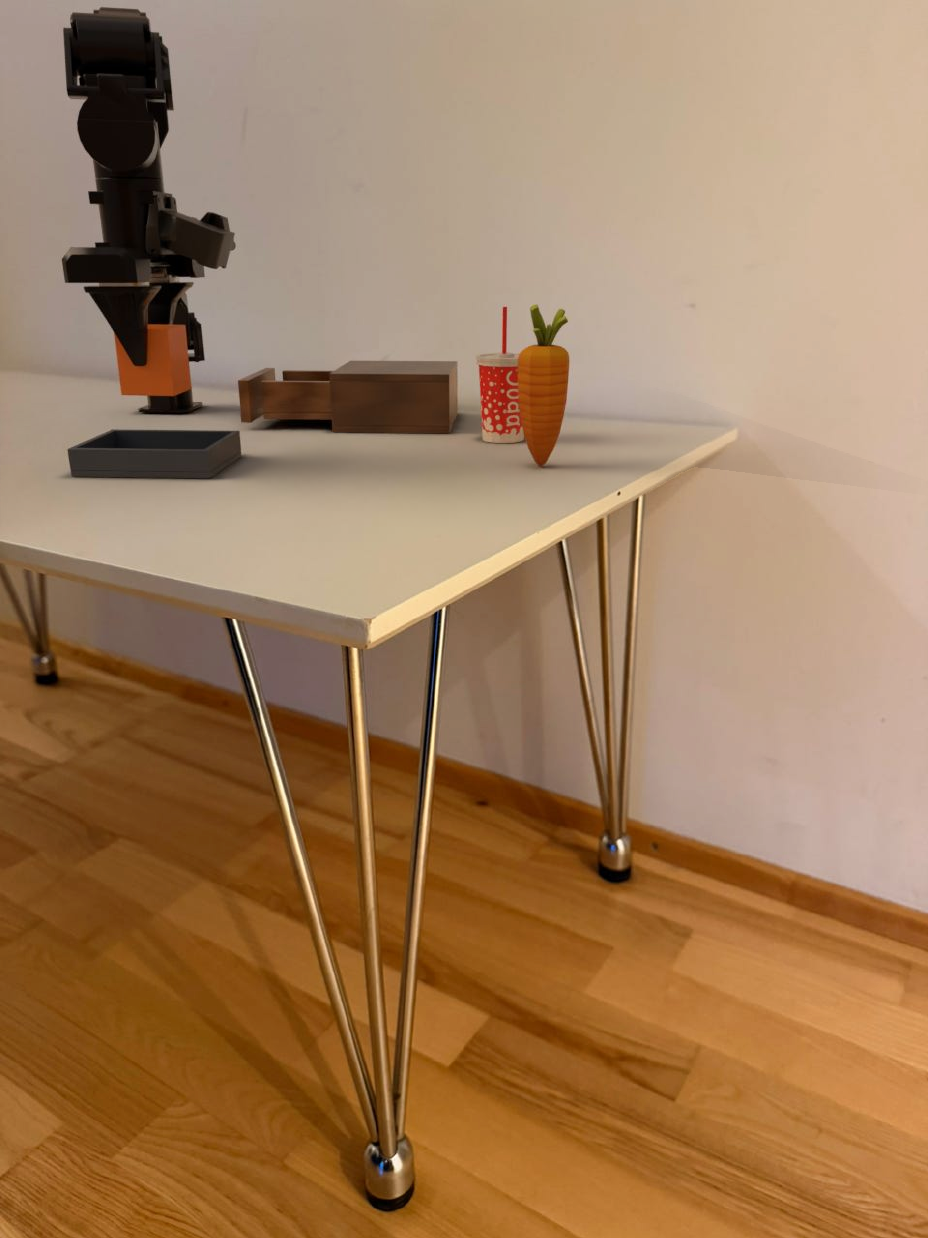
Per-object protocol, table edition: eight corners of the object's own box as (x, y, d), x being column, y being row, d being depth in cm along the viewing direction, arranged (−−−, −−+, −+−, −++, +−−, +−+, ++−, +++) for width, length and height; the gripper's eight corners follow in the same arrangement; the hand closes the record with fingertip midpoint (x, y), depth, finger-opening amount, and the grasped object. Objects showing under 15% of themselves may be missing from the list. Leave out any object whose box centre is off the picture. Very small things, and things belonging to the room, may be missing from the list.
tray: (115, 454, 98) (112, 429, 97) (241, 456, 97) (239, 430, 96) (71, 476, 88) (66, 448, 87) (210, 478, 87) (208, 450, 86)
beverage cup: (482, 445, 102) (483, 308, 97) (470, 435, 108) (470, 305, 103) (537, 443, 103) (540, 307, 98) (522, 433, 109) (525, 304, 104)
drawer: (231, 422, 110) (227, 380, 109) (259, 405, 122) (256, 367, 120) (347, 423, 110) (345, 381, 108) (364, 406, 121) (363, 368, 119)
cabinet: (332, 432, 110) (329, 373, 107) (352, 413, 122) (350, 360, 120) (449, 433, 109) (449, 374, 106) (457, 414, 121) (457, 361, 119)
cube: (141, 388, 93) (134, 323, 91) (191, 389, 92) (185, 324, 90) (120, 395, 88) (112, 327, 86) (173, 396, 88) (167, 328, 86)
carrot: (558, 460, 95) (564, 302, 89) (572, 470, 90) (579, 305, 85) (510, 462, 94) (512, 302, 89) (521, 472, 90) (525, 305, 84)
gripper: (183, 171, 74) (203, 375, 80) (248, 186, 92) (261, 352, 97) (45, 172, 75) (75, 374, 81) (135, 186, 92) (155, 352, 98)
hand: (151, 362), depth 89 cm, fingers closed on cube, 5 cm apart
